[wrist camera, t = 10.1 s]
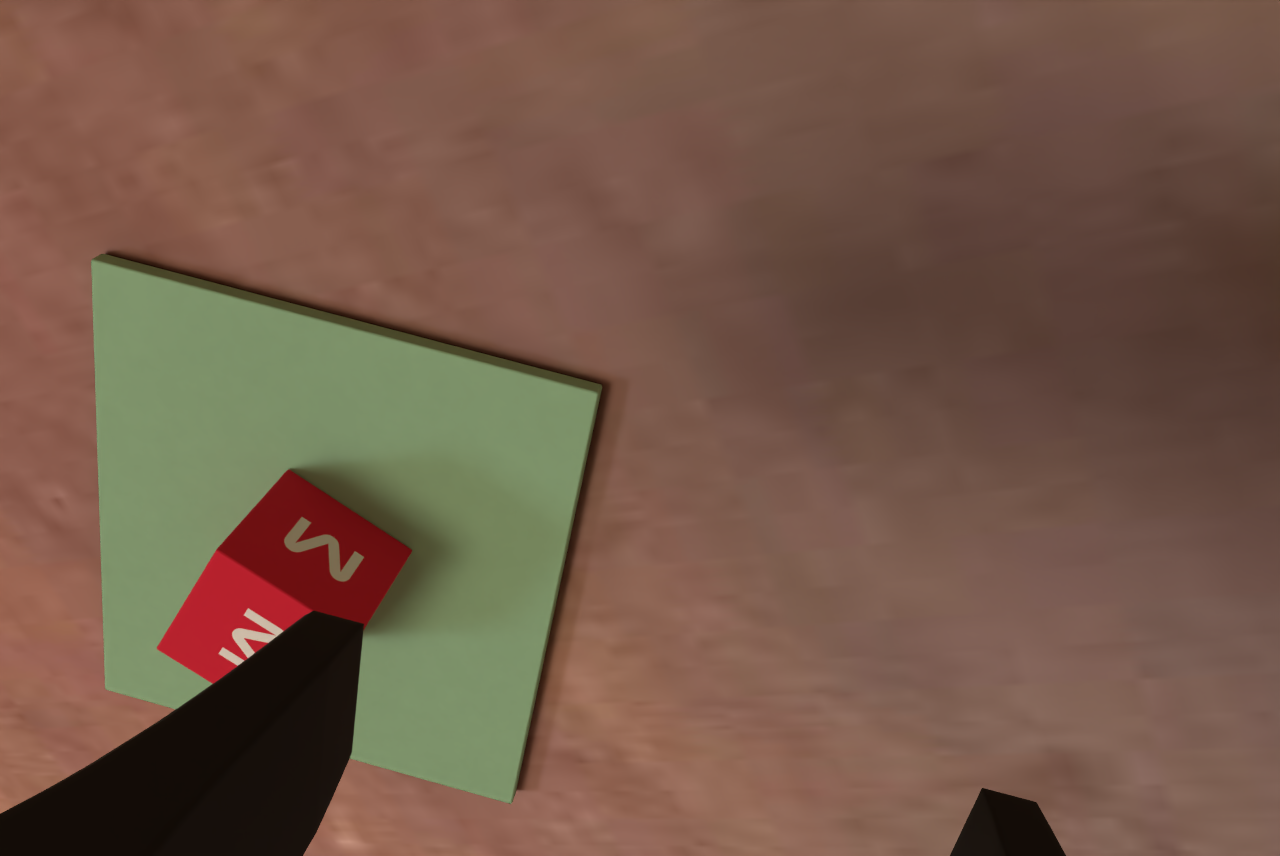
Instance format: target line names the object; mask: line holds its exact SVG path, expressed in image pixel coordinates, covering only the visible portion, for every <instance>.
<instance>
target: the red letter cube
mask: <svg viewBox="0 0 1280 856" xmlns="http://www.w3.org/2000/svg"><path fill="white" fill-rule="evenodd" d="M411 553H412V550H411V549H410V548H408V547H407V546H405V545H404V544H402V543H401V542H399V541H398V540H396V539H395V538H393V537H392V536H390V535H389V534H387V533H386V532H384V531H383V530H381V529H379V528H378V527H376V526H375V525H373V524H372V523H370V522H369V521H367V520H366V519H364V518H363V517H361V516H360V515H358V514H357V513H355V512H353V511H352V510H350V509H349V508H347V507H346V506H344V505H343V504H341V503H340V502H338V501H337V500H335V499H334V498H332V497H331V496H329V495H328V494H326V493H324V492H323V491H321V490H320V489H318V488H317V487H315V486H314V485H312V484H311V483H309V482H308V481H306V480H305V479H303V478H302V477H300V476H299V475H297V474H295V473H294V472H292V471H291V470H287V471H286V472H285V473H284V474H283V475H282V476H281V478H280V479H279V480H278V481H277V482H276V483H275V484H274V485H273V487H272V488H271V489H270V490H269V491H268V492H267V493H266V494H265V495H264V497H263V498H262V499H261V500H260V501H259V502H258V503H257V504H256V506H255V507H254V508H253V509H252V510H251V511H250V512H249V513H248V515H247V516H246V517H245V518H244V519H243V520H242V521H241V522H240V524H239V525H238V526H237V527H236V528H235V529H234V530H233V531H232V532H231V534H230V535H229V536H228V537H227V538H226V539H225V540H224V541H223V543H222V544H221V545H220V546H219V547H218V548H217V549H216V551H215V553H214V554H213V556H212V557H211V559H210V561H209V562H208V564H207V566H206V567H205V569H204V571H203V572H202V574H201V576H200V577H199V579H198V580H197V582H196V584H195V585H194V587H193V589H192V590H191V592H190V594H189V595H188V597H187V599H186V600H185V602H184V604H183V605H182V607H181V608H180V610H179V612H178V613H177V615H176V617H175V618H174V620H173V622H172V623H171V625H170V627H169V628H168V630H167V632H166V633H165V635H164V636H163V638H162V640H161V641H160V643H159V645H158V646H157V650H159V651H160V652H162V653H164V654H165V655H167V656H169V657H170V658H172V659H173V660H175V661H177V662H178V663H180V664H182V665H183V666H185V667H186V668H188V669H190V670H191V671H193V672H195V673H196V674H198V675H199V676H201V677H203V678H204V679H206V680H207V681H209V682H211V683H212V684H213V683H215V682H216V681H218V680H219V679H220V678H222V677H223V676H224V675H226V674H227V673H229V672H230V671H231V670H233V669H234V668H235V667H237V666H238V665H239V664H241V663H242V662H243V661H245V660H246V659H248V658H249V657H250V656H252V655H253V654H254V653H256V652H257V651H258V650H260V649H261V648H262V647H264V646H265V645H266V644H267V643H269V642H270V641H271V640H273V639H274V638H275V637H277V636H278V635H279V634H281V633H282V632H283V631H284V630H286V629H287V628H288V627H290V626H291V625H292V624H294V623H295V622H296V621H298V620H299V619H300V618H301V617H303V616H304V615H306V614H308V613H310V612H312V611H318V612H322V613H325V614H329V615H333V616H337V617H340V618H344V619H348V620H352V621H356V622H359V623H363V624H364V629H365V627H366V626H367V624H368V622H369V621H370V619H371V618H372V616H373V614H374V613H375V611H376V609H377V608H378V606H379V605H380V603H381V601H382V600H383V598H384V596H385V595H386V593H387V592H388V590H389V588H390V587H391V585H392V583H393V582H394V580H395V579H396V577H397V575H398V574H399V572H400V570H401V569H402V567H403V566H404V564H405V562H406V561H407V559H408V557H409V556H410V554H411Z"/></svg>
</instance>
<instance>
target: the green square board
mask: <svg viewBox="0 0 1280 856" xmlns="http://www.w3.org/2000/svg"><path fill="white" fill-rule="evenodd" d="M91 267H92V297H93V328H94V359H95V390H96V420H97V451H98V482H99V513H100V543H101V574H102V605H103V635H104V666H105V689H106V690H109V691H113V692H116V693H120V694H123V695H127V696H130V697H134V698H138V699H141V700H145V701H148V702H152V703H155V704H159V705H162V706H166V707H169V708H173V709H177V708H179V707H180V706H182V705H183V704H184V703H186V702H187V701H189V700H190V699H192V698H193V697H195V696H196V695H197V694H199V693H200V692H202V691H203V690H205V689H206V688H207V687H209V686H210V685H212V683H211V682H209V681H207V680H206V679H204V678H203V677H201V676H199V675H198V674H196V673H195V672H193V671H191V670H190V669H188V668H186V667H185V666H183V665H182V664H180V663H178V662H177V661H175V660H173V659H172V658H170V657H169V656H167V655H165V654H164V653H162V652H160V651H159V650H157V646H158V645H159V643H160V641H161V640H162V638H163V636H164V635H165V633H166V632H167V630H168V628H169V627H170V625H171V623H172V622H173V620H174V618H175V617H176V615H177V613H178V612H179V610H180V608H181V607H182V605H183V604H184V602H185V600H186V599H187V597H188V595H189V594H190V592H191V590H192V589H193V587H194V585H195V584H196V582H197V580H198V579H199V577H200V576H201V574H202V572H203V571H204V569H205V567H206V566H207V564H208V562H209V561H210V559H211V557H212V556H213V554H214V553H215V551H216V549H217V548H218V547H219V546H220V545H221V544H222V543H223V541H224V540H225V539H226V538H227V537H228V536H229V535H230V534H231V532H232V531H233V530H234V529H235V528H236V527H237V526H238V525H239V524H240V522H241V521H242V520H243V519H244V518H245V517H246V516H247V515H248V513H249V512H250V511H251V510H252V509H253V508H254V507H255V506H256V504H257V503H258V502H259V501H260V500H261V499H262V498H263V497H264V495H265V494H266V493H267V492H268V491H269V490H270V489H271V488H272V487H273V485H274V484H275V483H276V482H277V481H278V480H279V479H280V478H281V476H282V475H283V474H284V473H285V472H286V471H287V470H291V471H292V472H294V473H295V474H297V475H299V476H300V477H302V478H303V479H305V480H306V481H308V482H309V483H311V484H312V485H314V486H315V487H317V488H318V489H320V490H321V491H323V492H324V493H326V494H328V495H329V496H331V497H332V498H334V499H335V500H337V501H338V502H340V503H341V504H343V505H344V506H346V507H347V508H349V509H350V510H352V511H353V512H355V513H357V514H358V515H360V516H361V517H363V518H364V519H366V520H367V521H369V522H370V523H372V524H373V525H375V526H376V527H378V528H379V529H381V530H383V531H384V532H386V533H387V534H389V535H390V536H392V537H393V538H395V539H396V540H398V541H399V542H401V543H402V544H404V545H405V546H407V547H408V548H410V549H411V550H412V553H411V554H410V556H409V557H408V559H407V561H406V562H405V564H404V566H403V567H402V569H401V570H400V572H399V574H398V575H397V577H396V579H395V580H394V582H393V583H392V585H391V587H390V588H389V590H388V592H387V593H386V595H385V596H384V598H383V600H382V601H381V603H380V605H379V606H378V608H377V609H376V611H375V613H374V614H373V616H372V618H371V619H370V621H369V622H368V624H367V626H366V627H365V629H364V630H363V641H362V651H361V662H360V672H359V683H358V694H357V704H356V715H355V725H354V736H353V747H352V754H351V756H350V759H354V760H357V761H361V762H364V763H368V764H371V765H375V766H378V767H382V768H385V769H389V770H393V771H396V772H400V773H403V774H407V775H410V776H414V777H417V778H421V779H424V780H428V781H431V782H435V783H439V784H442V785H446V786H449V787H453V788H456V789H460V790H463V791H467V792H470V793H474V794H478V795H481V796H485V797H488V798H492V799H495V800H499V801H502V802H506V803H509V804H511V803H512V802H513V799H514V796H515V793H516V789H517V784H518V780H519V775H520V770H521V766H522V761H523V756H524V752H525V747H526V742H527V737H528V733H529V728H530V723H531V719H532V714H533V709H534V705H535V700H536V695H537V691H538V686H539V681H540V677H541V672H542V667H543V663H544V658H545V653H546V648H547V644H548V639H549V634H550V630H551V625H552V620H553V616H554V611H555V606H556V602H557V597H558V592H559V588H560V583H561V578H562V573H563V569H564V564H565V559H566V555H567V550H568V545H569V541H570V536H571V531H572V527H573V522H574V517H575V513H576V508H577V503H578V499H579V494H580V489H581V484H582V480H583V475H584V470H585V466H586V461H587V456H588V452H589V447H590V442H591V438H592V433H593V428H594V424H595V419H596V414H597V409H598V405H599V400H600V395H601V391H602V385H601V384H597V383H593V382H589V381H586V380H582V379H578V378H574V377H570V376H567V375H563V374H559V373H555V372H551V371H548V370H544V369H540V368H536V367H532V366H529V365H525V364H521V363H517V362H513V361H510V360H506V359H502V358H498V357H494V356H491V355H487V354H483V353H479V352H475V351H472V350H468V349H464V348H460V347H456V346H453V345H449V344H445V343H441V342H437V341H434V340H430V339H426V338H422V337H418V336H415V335H411V334H407V333H403V332H399V331H396V330H392V329H388V328H384V327H380V326H377V325H373V324H369V323H365V322H361V321H357V320H354V319H350V318H346V317H342V316H338V315H335V314H331V313H327V312H323V311H319V310H316V309H312V308H308V307H304V306H300V305H297V304H293V303H289V302H285V301H281V300H278V299H274V298H270V297H266V296H262V295H259V294H255V293H251V292H247V291H243V290H240V289H236V288H232V287H228V286H224V285H221V284H217V283H213V282H209V281H205V280H202V279H198V278H194V277H190V276H186V275H183V274H179V273H175V272H171V271H167V270H164V269H160V268H156V267H152V266H148V265H145V264H141V263H137V262H133V261H129V260H126V259H122V258H118V257H114V256H110V255H107V254H101V255H99V256H97V257H95V258H93V259H92V261H91Z"/></svg>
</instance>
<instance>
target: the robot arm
mask: <svg viewBox="0 0 1280 856" xmlns="http://www.w3.org/2000/svg"><path fill="white" fill-rule="evenodd" d="M363 630H364V624H363V623H359V622H356V621H352V620H348V619H344V618H340V617H337V616H333V615H329V614H325V613H322V612H318V611H312V612H310V613H308V614H306V615H304V616H303V617H301V618H300V619H299V620H298V621H296V622H295V623H294V624H292V625H291V626H290V627H288V628H287V629H286V630H284V631H283V632H282V633H281V634H279V635H278V636H277V637H275V638H274V639H273V640H271V641H270V642H269V643H267V644H266V645H265V646H264V647H262V648H261V649H260V650H258V651H257V652H256V653H254V654H253V655H252V656H250V657H249V658H248V659H246V660H245V661H243V662H242V663H241V664H239V665H238V666H237V667H235V668H234V669H233V670H231V671H230V672H229V673H227V674H226V675H224V676H223V677H222V678H220V679H219V680H218V681H216V682H215V683H213V684H212V685H210V686H209V687H207V688H206V689H205V690H203V691H202V692H200V693H199V694H197V695H196V696H195V697H193V698H192V699H190V700H189V701H187V702H186V703H184V704H183V705H182V706H180V707H179V708H177V709H176V710H174V711H173V712H172V713H170V714H169V715H167V716H166V717H164V718H163V719H161V720H160V721H158V722H157V723H155V724H154V725H152V726H150V727H149V728H147V729H146V730H144V731H143V732H141V733H139V734H138V735H136V736H135V737H133V738H131V739H130V740H128V741H127V742H125V743H123V744H122V745H120V746H119V747H117V748H115V749H114V750H112V751H111V752H109V753H107V754H106V755H104V756H103V757H101V758H99V759H98V760H96V761H95V762H93V763H91V764H90V765H88V766H86V767H85V768H83V769H81V770H79V771H78V772H76V773H74V774H73V775H71V776H69V777H67V778H66V779H64V780H62V781H60V782H59V783H57V784H55V785H53V786H51V787H50V788H48V789H46V790H44V791H42V792H41V793H39V794H37V795H35V796H33V797H31V798H29V799H27V800H26V801H24V802H22V803H20V804H18V805H16V806H14V807H12V808H10V809H9V810H7V811H5V812H3V813H1V814H0V856H303V854H304V853H305V851H306V849H307V847H308V846H309V844H310V842H311V841H312V839H313V837H314V835H315V834H316V832H317V830H318V828H319V825H320V823H321V821H322V819H323V817H324V814H325V812H326V810H327V808H328V806H329V804H330V801H331V799H332V797H333V795H334V793H335V790H336V788H337V786H338V783H339V781H340V779H341V777H342V774H343V772H344V770H345V767H346V765H347V763H348V761H349V758H350V756H351V754H352V747H353V736H354V725H355V715H356V704H357V694H358V683H359V672H360V662H361V651H362V641H363ZM950 856H1066V855H1065V853H1064V851H1063V849H1062V848H1061V846H1060V844H1059V842H1058V840H1057V838H1056V837H1055V835H1054V833H1053V831H1052V829H1051V827H1050V826H1049V824H1048V822H1047V820H1046V819H1045V817H1044V815H1043V813H1042V811H1041V810H1040V808H1039V806H1038V804H1037V803H1036V802H1033V801H1030V800H1026V799H1022V798H1018V797H1015V796H1011V795H1007V794H1003V793H1000V792H996V791H992V790H988V789H984V788H982V789H981V791H980V794H979V796H978V798H977V800H976V802H975V804H974V806H973V808H972V810H971V812H970V815H969V817H968V819H967V821H966V823H965V825H964V827H963V829H962V831H961V834H960V836H959V838H958V840H957V842H956V844H955V846H954V848H953V850H952V853H951V855H950Z"/></svg>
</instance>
